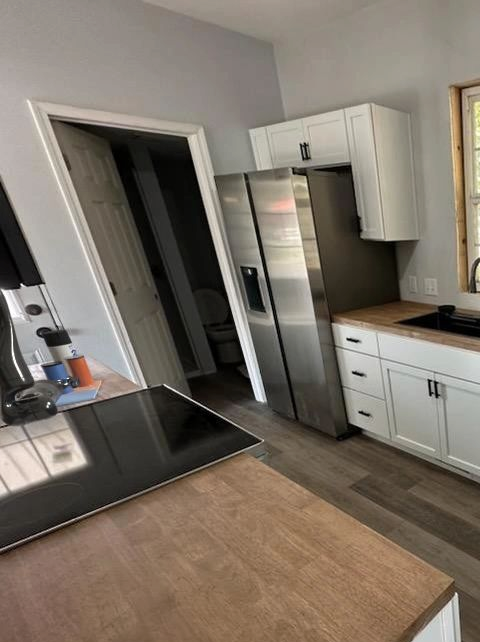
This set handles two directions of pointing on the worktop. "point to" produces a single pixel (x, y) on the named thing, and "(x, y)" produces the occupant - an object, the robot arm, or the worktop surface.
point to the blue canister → (56, 373)
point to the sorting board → (79, 394)
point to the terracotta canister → (80, 369)
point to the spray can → (59, 346)
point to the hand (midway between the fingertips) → (52, 381)
